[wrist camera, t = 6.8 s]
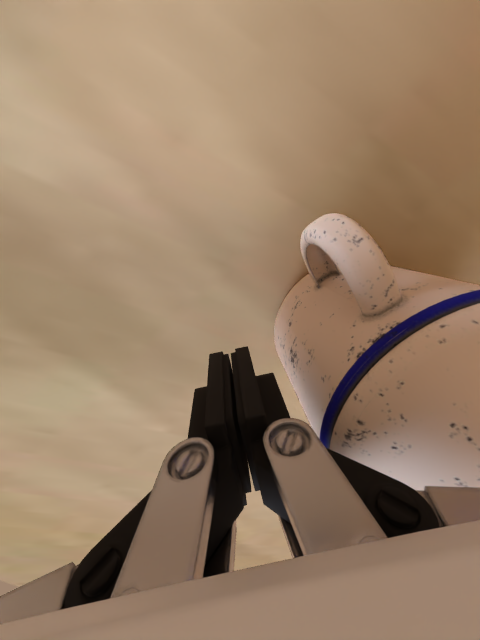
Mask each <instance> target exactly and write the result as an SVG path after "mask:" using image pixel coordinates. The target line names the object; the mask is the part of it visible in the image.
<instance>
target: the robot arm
mask: <svg viewBox="0 0 480 640" xmlns="http://www.w3.org/2000/svg"><path fill="white" fill-rule="evenodd" d="M235 351H236V352H234V353H231V359H232V368H231V363H230V359H229V355H228V354H225V355H224V354H223V352H218V353H213V354H210V355H209V368H208V382H207V386H206V387H202V388H197V389H195V392H194V398H193V405H192V412H191V419H190V426H189V433H188V439H186V440H184V441H182V442H180V443H178V444H177V445H176V446H174V447H173V448H172V449H171V450H170V451H169V452H168V454H167V455H166V457H165V459H164V461H163V463H162V466H161V468H160V471H159V474H158V476H157V479H156V481H155V484H154V486H153V489H152V491H151V492H150V493H148V494H147V495H146V496H145V497H144V498H143V499H142V500H141V501H140V502H139V503H138V504H137V505H136V506H135V507H134V508H133V509H132V510H131V511H130V512H129V513H128V514H127V515H126V516H125V517H124V518H123V519H122V520H121V521H120V522H119V523H118V524H117V525H116V526H115V527H114V528H113V529H112V530H111V531H110V532H109V533H108V534H107V535H106V536H105V537H104V538H103V539H102V540H101V541H100V542H99V543H98V544H97V545H96V546H95V547H94V548H93V549H92V550H91V551H90V552H89V553H88V554H87V555H86V557H85V558H84V559H83V560H82V561H81V563H80V564H79V565H77V566H75V564H74V563H73V562H72V563H69V564H67V565H65V566H63V567H61V568H59V569H57V570H55V571H52V572H50V573H48V574H46V575H44V576H42V577H40V578H38V579H36V580H33V581H31V582H29V583H27V584H25V585H23V586H21V587H19V588H16V589H14V590H12V591H10V592H8V593H6V594H4V595H2V596H0V640H480V488H477V487H443V486H425V488H424V491H421V490H414V489H413V488H411V487H409V486H408V485H406V484H404V483H402V482H400V481H398V480H396V479H394V478H392V477H389V476H387V475H385V474H383V473H381V472H378V471H376V470H374V469H372V468H370V467H367V466H365V465H363V464H361V463H359V462H357V461H354V460H352V459H350V458H348V457H346V456H343V455H341V454H339V453H337V452H335V451H332V450H330V449H328V448H326V447H325V446H324V445H323V443H322V442H321V440H320V439H319V437H318V436H317V434H316V433H315V432H314V430H313V429H312V428H311V427H310V426H309V425H308V424H307V423H305V422H304V421H302V420H299V419H295V418H290V416H289V413H288V410H287V408H286V405H285V403H284V400H283V397H282V395H281V392H280V389H279V387H278V384H277V382H276V379H275V376H274V374H273V373H269V374H264V375H259V376H255V373H254V369H253V365H252V361H251V357H250V353H249V349H248V346H247V347H242V348H237V349H235ZM232 369H233V372H232ZM248 464H249V467H248ZM249 468H250V472H251V476H252V480H253V484H254V488H255V491H258V490H260V491H261V495H262V499H263V503H264V505H266V506H267V507H268V508H270V509H271V510H273V511H274V512H275V513H277V514H278V516H279V521H280V523H281V526H282V529H283V532H284V535H285V538H286V540H287V543H288V546H289V549H290V552H291V555H292V559H288V560H283V561H279V562H274V563H269V564H265V565H260V566H256V567H251V568H246V569H242V570H237V571H234V561H235V546H236V530H237V528H236V519H237V517H238V516H239V514H240V513H241V511H242V510H243V508H244V506H245V505H247V502H246V493H248V492H251V483H250V475H249Z"/></svg>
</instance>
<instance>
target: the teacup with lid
mask: <svg viewBox="0 0 480 640" xmlns="http://www.w3.org/2000/svg"><path fill="white" fill-rule="evenodd" d="M300 247H301V253H302V257H303V260H304V263H305V265H306V267H307V270H308V272H309V274H307V275H306V276H304V277H303V278H302V279H301V280H300V281H299V282H298V283H297V284H296V285H295V286H294V287H293V288H292V289H291V290H290V292H289V293H288V294H287V296H286V297H285V299H284V301H283V302H282V304H281V306H280V309H279V311H278V314H277V317H276V321H275V327H274V341H275V347H276V350H277V354H278V356H279V358H280V360H281V363H282V365H283V367H284V369H285V371H286V373H287V375H288V378H289V380H290V382H291V384H292V386H293V388H294V391H295V393H296V395H297V397H298V399H299V401H300V403H301V406H302V408H303V410H304V412H305V414H306V416H307V419H308V421H309V423H310V425H311V427H312V429H313V430H314V432H315V433H316V434H317V436H318V437H319V439H320V440H321V442H322V443H323V445H324V446H325V447H326V448H328V449H330V450H332V451H335V452H337V453H339V454H341V455H343V456H346V457H348V458H350V459H352V460H354V461H357V462H359V463H361V464H363V465H365V466H367V467H370V468H372V469H374V470H376V471H378V472H381V473H383V474H385V475H387V476H389V477H392V478H394V479H396V480H398V481H400V482H402V483H404V484H406V485H408V486H409V487H411V488H413V489H414V490H421V491H424V488H425V486H443V487H477V488H480V285H477V284H472V283H468V282H463V281H459V280H454V279H449V278H445V277H440V276H436V275H431V274H426V273H422V272H417V271H413V270H408V269H404V268H399V267H394V266H390V265H389V263H388V261H387V259H386V257H385V255H384V254H383V252H382V250H381V249H380V247H379V246H378V244H377V243H376V242H375V240H374V239H373V238H372V237H371V235H370V234H369V233H368V232H367V231H366V230H365V229H364V228H363V227H362V226H361V225H360V224H358V223H357V222H356V221H355V220H353V219H351V218H350V217H348V216H345V215H342V214H338V213H330V214H326V215H323V216H321V217H319V218H318V219H316V220H315V221H313V222H312V223H311V224H309V225H308V226H307V227H306V228H305V229H304V231H303V233H302V235H301V240H300Z"/></svg>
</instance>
